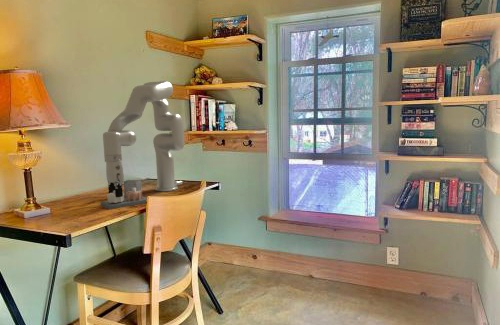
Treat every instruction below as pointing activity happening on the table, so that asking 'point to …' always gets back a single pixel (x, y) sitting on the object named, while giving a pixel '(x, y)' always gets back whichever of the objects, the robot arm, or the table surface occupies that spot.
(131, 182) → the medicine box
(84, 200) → the table surface
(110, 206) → the gear board
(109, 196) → the gear
